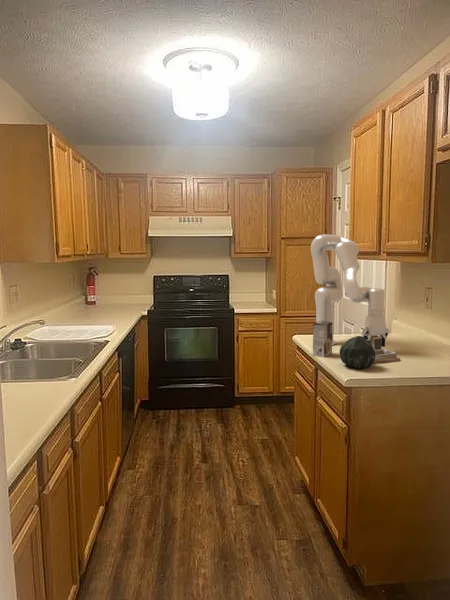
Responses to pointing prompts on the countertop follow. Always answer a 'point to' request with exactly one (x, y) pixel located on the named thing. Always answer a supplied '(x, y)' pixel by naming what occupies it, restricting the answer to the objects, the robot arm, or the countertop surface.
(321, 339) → the coffee box
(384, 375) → the countertop surface
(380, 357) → the rail board
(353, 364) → the squash
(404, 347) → the countertop surface
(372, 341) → the wooden block
